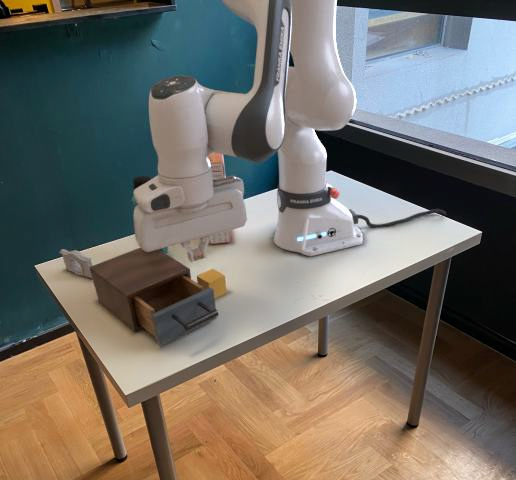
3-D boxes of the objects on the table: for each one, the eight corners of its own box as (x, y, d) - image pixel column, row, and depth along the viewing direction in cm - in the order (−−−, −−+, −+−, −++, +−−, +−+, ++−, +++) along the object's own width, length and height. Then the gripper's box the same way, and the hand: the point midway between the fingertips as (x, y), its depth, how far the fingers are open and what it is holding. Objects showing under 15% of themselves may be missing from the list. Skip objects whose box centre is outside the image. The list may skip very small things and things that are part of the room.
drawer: (233, 329, 100) (231, 300, 96) (177, 360, 93) (171, 330, 89) (176, 291, 112) (172, 263, 108) (122, 315, 105) (115, 287, 101)
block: (226, 293, 112) (225, 275, 110) (210, 300, 110) (208, 283, 107) (214, 285, 115) (212, 268, 112) (198, 292, 113) (196, 275, 110)
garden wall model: (105, 279, 119) (100, 256, 115) (100, 283, 118) (94, 260, 114) (70, 267, 124) (63, 245, 121) (64, 270, 123) (57, 248, 120)
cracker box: (207, 222, 142) (199, 144, 129) (229, 220, 142) (223, 143, 129) (207, 245, 131) (198, 162, 118) (231, 243, 131) (224, 161, 118)
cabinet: (194, 303, 109) (189, 268, 104) (135, 332, 102) (126, 295, 97) (155, 277, 119) (149, 243, 114) (98, 301, 112) (89, 267, 106)
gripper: (234, 168, 92) (240, 238, 100) (123, 193, 85) (139, 266, 94) (250, 178, 87) (254, 251, 96) (134, 206, 81) (150, 281, 89)
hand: (197, 258), depth 95 cm, fingers closed
